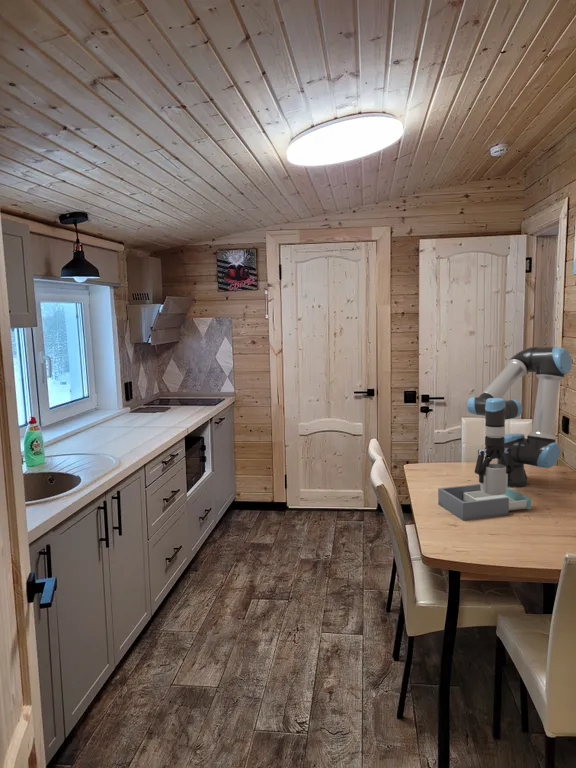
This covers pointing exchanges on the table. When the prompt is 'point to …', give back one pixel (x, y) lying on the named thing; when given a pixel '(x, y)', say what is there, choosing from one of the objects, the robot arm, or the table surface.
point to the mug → (495, 479)
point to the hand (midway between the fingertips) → (493, 489)
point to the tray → (514, 497)
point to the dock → (471, 503)
